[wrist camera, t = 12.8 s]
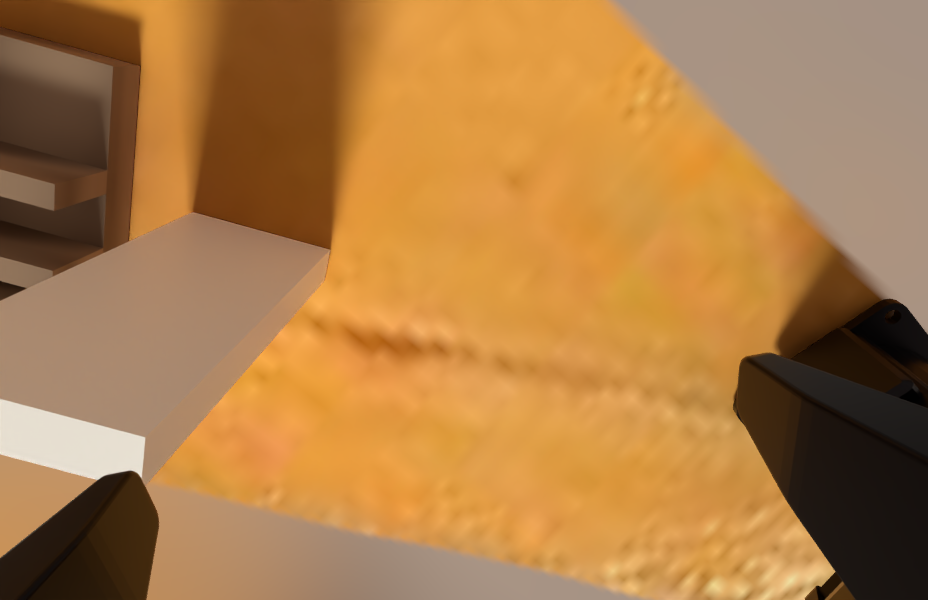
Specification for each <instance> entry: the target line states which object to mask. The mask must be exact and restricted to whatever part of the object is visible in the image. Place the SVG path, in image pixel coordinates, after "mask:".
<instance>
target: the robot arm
mask: <svg viewBox="0 0 928 600" xmlns="http://www.w3.org/2000/svg"><path fill="white" fill-rule="evenodd" d="M892 310H894V311H895V312H894V315H893V316H892V317H891V318H889V319H887V320H886V319H885V316H886V314H887V313H888V312H889V311H892ZM733 410H734V411H735V413H736V415H737V416H738V418H739V419H740V421H741V422H742V423H743V424H744V425H745V427H746V429H747V430H748V432H749V434H750V436H751V438H752V440H753V441H754V443H755V445H756V447H757V449H758V450H759V452H760V454H761V456H762V458H763V460H764V461H765V463H766V465H767V467H768V469H769V471H770V472H771V474H772V476H773V478H774V480H775V481H776V483H777V485H778V487H779V489H780V490H781V492H782V494H783V495H784V497H785V499H786V501H787V502H788V504H789V505H790V507H791V508H792V510H793V511H794V513H795V514H796V516H797V517H798V519H799V520H800V521H801V523H802V524H803V526H804V527H805V529H806V530H807V531H808V533H809V534H810V536H811V537H812V539H813V540H814V541H815V543H816V544H817V546H818V547H819V549H820V550H821V551H822V553H823V554H824V556H825V557H826V559H827V560H828V561H829V563H830V564H831V566H832V567H833V569H834V570H835V571H836V572H835V573H834V574H833V575H832V576H831V577H830V578H829V579H828V580H827V581H826V582H825V584H824V585H823V586H822V587H820V586H816V587H815V588H814V589H813V590H812V591H811V592H810V593H809V594H808V595H807V596H806V597H805V600H928V334H927V333H926V332H925V330H924V329H923V328H922V327H921V325H920V324H919V323H918V321H917V320H916V319H915V317H914V316H913V315H912V314H911V313H910V311H909V310H908V308H907V307H905V306H904V305H903V304H901V303H900V302H898V301H897V300H893V299H885V300H882V301H880V302H878V303H877V304H875V305H874V306H872V307H871V308H869V309H868V310H866V311H865V312H863V313H862V314H860V315H859V316H857V317H856V318H854V319H853V320H851V321H850V322H848V323H847V324H845V325H844V326H843V327H841V328H837V329H835V330H833V331H832V332H830V333H829V334H827V335H826V336H825V337H823V338H822V339H820V340H819V341H817V342H816V343H814V344H813V345H811V346H810V347H808V348H807V349H805V350H804V351H802V352H801V353H799V354H798V355H796V356H795V357H794V358H792V359H791V360H790V359H787V358H785V357H782V356H779V355H776V354H773V353H762V354H757V355H751V356H746V357H745V358H743V359H742V360H741V363H740V366H739V377H738V389H737V399H736V400H735V402H734V404H733ZM158 529H159V518H158V513H157V510H156V508H155V506H154V504H153V502H152V500H151V497H150V495H149V493H148V491H147V489H146V487H145V485H144V483H143V481H142V479H141V477H140V476H139V474H138V473H137V472H135V471H132V470H129V471H124V472H118V473H113V474H108V475H105V476H103V477H101V478H100V479H98V480H97V481H96V482H95V483H94V484H92V485H91V486H90V487H88V488H87V489H86V490H85V491H83V492H82V493H81V494H80V495H78V496H77V497H76V498H75V499H74V500H72V501H71V502H70V503H68V504H67V505H66V506H65V507H64V508H62V509H61V510H60V511H58V512H57V513H56V514H55V515H53V516H52V517H51V518H50V519H49V520H47V521H46V522H45V523H43V524H42V525H41V526H40V527H38V528H37V529H36V530H35V531H33V532H32V533H31V534H30V535H28V536H27V537H26V538H25V539H23V540H22V541H21V542H20V543H19V544H17V545H16V546H15V547H13V548H12V549H11V550H10V551H8V552H7V553H6V554H5V555H3V556H2V557H1V558H0V600H146V598H147V592H148V586H149V581H150V575H151V569H152V564H153V557H154V552H155V546H156V541H157V535H158Z"/></svg>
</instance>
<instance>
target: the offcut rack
mask: <svg viewBox="0 0 928 600" xmlns="http://www.w3.org/2000/svg"><path fill="white" fill-rule="evenodd" d="M139 79H140V66H138V65H135V64H131V63H128V62H124V61H120V60H117V59H113V58H110V57H106V56H103V55H99V54H95V53H92V52H88V51H85V50H81V49H78V48H74V47H70V46H67V45H63V44H60V43H56V42H52V41H49V40H45V39H42V38H38V37H35V36H31V35H27V34H24V33H20V32H17V31H13V30H10V29H6V28H2V27H0V301H1V300H3V299H5V298H8V297H10V296H12V295H14V294H16V293H18V292H21V291H23V290H25V289H27V288H29V287H31V286H34V285H36V284H38V283H40V282H42V281H44V280H47V279H49V278H51V277H53V276H55V275H57V274H60V273H62V272H64V271H66V270H68V269H70V268H73V267H75V266H77V265H79V264H81V263H83V262H86V261H88V260H90V259H92V258H94V257H96V256H98V255H101V254H103V253H105V252H107V251H109V250H111V249H114V248H116V247H118V246H120V245H122V244H124V243H127V242H128V239H129V224H130V210H131V195H132V181H133V166H134V152H135V137H136V123H137V108H138V94H139Z"/></svg>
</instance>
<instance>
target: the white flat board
mask: <svg viewBox="0 0 928 600" xmlns="http://www.w3.org/2000/svg"><path fill="white" fill-rule="evenodd" d="M329 255H330V250H329V249H326V248H322V247H319V246H315V245H311V244H308V243H304V242H300V241H297V240H293V239H289V238H286V237H282V236H278V235H275V234H271V233H268V232H264V231H260V230H257V229H253V228H249V227H246V226H242V225H238V224H235V223H231V222H227V221H224V220H220V219H217V218H213V217H209V216H206V215H202V214H198V213H195V212H192V213H189V214H187V215H185V216H183V217H181V218H179V219H176V220H174V221H172V222H170V223H168V224H166V225H163V226H161V227H159V228H157V229H155V230H153V231H150V232H148V233H146V234H144V235H142V236H140V237H137V238H135V239H133V240H131V241H129V242H127V243H124V244H122V245H120V246H118V247H116V248H114V249H111V250H109V251H107V252H105V253H103V254H101V255H98V256H96V257H94V258H92V259H90V260H88V261H86V262H83V263H81V264H79V265H77V266H75V267H73V268H70V269H68V270H66V271H64V272H62V273H60V274H57V275H55V276H53V277H51V278H49V279H47V280H44V281H42V282H40V283H38V284H36V285H34V286H31V287H29V288H27V289H25V290H23V291H21V292H18V293H16V294H14V295H12V296H10V297H8V298H5V299H3V300H1V301H0V454H1V455H5V456H9V457H12V458H16V459H20V460H24V461H28V462H31V463H35V464H39V465H43V466H47V467H50V468H54V469H58V470H62V471H66V472H69V473H73V474H77V475H81V476H84V477H88V478H92V479H96V480H98V479H100V478H101V477H103V476H105V475H108V474H113V473H118V472H124V471H129V470H132V471H135V472H137V473H138V474H139V476H140V477H141V479H142V481H143V483H144V485H145V486H146V484H147V483H148V482H149V481H150V480H151V479H152V478H153V476H154V475H155V474H156V473H157V472H158V471H159V470H160V468H161V467H162V466H163V465H164V464H165V463H166V462H167V460H168V459H169V458H170V457H171V456H172V455H173V454H174V452H175V451H176V450H177V449H178V448H179V447H180V445H181V444H182V443H183V442H184V441H185V440H186V439H187V437H188V436H189V435H190V434H191V433H192V432H193V431H194V429H195V428H196V427H197V426H198V425H199V424H200V423H201V421H202V420H203V419H204V418H205V417H206V416H207V415H208V413H209V412H210V411H211V410H212V409H213V408H214V407H215V405H216V404H217V403H218V402H219V401H220V400H221V399H222V397H223V396H224V395H225V394H226V393H227V392H228V391H229V389H230V388H231V387H232V386H233V385H234V384H235V383H236V381H237V380H238V379H239V378H240V377H241V376H242V374H243V373H244V372H245V371H246V370H247V369H248V368H249V366H250V365H251V364H252V363H253V362H254V361H255V360H256V358H257V357H258V356H259V355H260V354H261V353H262V352H263V350H264V349H265V348H266V347H267V346H268V345H269V344H270V342H271V341H272V340H273V339H274V338H275V337H276V336H277V334H278V333H279V332H280V331H281V330H282V329H283V328H284V326H285V325H286V324H287V323H288V322H289V321H290V320H291V318H292V317H293V316H294V315H295V314H296V313H297V312H298V310H299V309H300V308H301V307H302V306H303V305H304V303H305V302H306V301H307V300H308V299H309V298H310V297H311V295H312V294H313V293H314V292H315V291H316V290H317V289H318V287H319V286H320V285H321V284H322V283H323V282H324V280H325V275H326V270H327V265H328V260H329Z"/></svg>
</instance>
